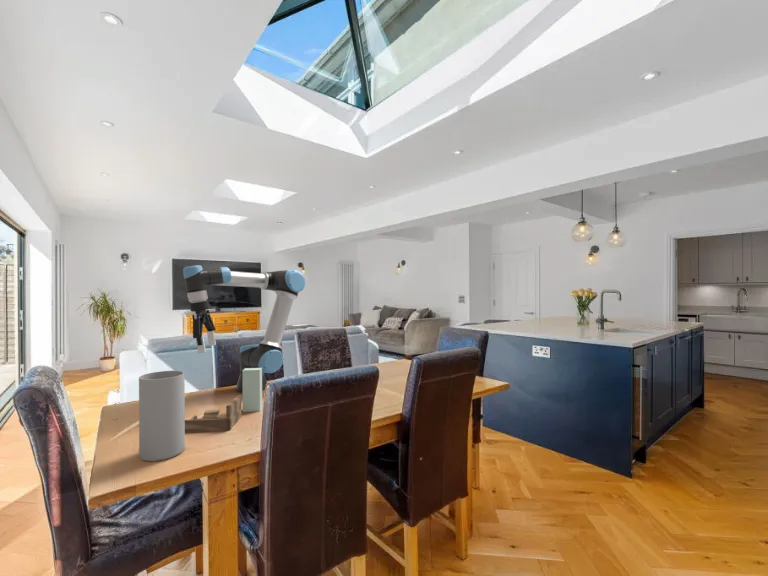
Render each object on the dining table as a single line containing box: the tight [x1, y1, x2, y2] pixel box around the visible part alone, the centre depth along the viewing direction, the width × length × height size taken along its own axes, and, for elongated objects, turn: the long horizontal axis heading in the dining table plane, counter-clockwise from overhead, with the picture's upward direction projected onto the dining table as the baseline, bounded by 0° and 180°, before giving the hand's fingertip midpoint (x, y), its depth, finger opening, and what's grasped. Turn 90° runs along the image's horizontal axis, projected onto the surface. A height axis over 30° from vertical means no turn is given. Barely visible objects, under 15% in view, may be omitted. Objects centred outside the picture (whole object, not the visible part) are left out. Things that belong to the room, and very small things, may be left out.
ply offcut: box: [201, 413, 223, 419], centre depth 146 cm, size 4×6×2 cm, turn 95°
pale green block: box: [242, 368, 263, 413], centre depth 159 cm, size 4×7×18 cm, turn 95°
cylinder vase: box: [138, 370, 186, 462], centre depth 120 cm, size 12×12×25 cm
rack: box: [185, 394, 242, 433], centre depth 142 cm, size 14×18×10 cm
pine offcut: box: [203, 408, 221, 417], centre depth 146 cm, size 4×5×2 cm
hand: (207, 348), depth 165 cm, fingers open, 13 cm apart
